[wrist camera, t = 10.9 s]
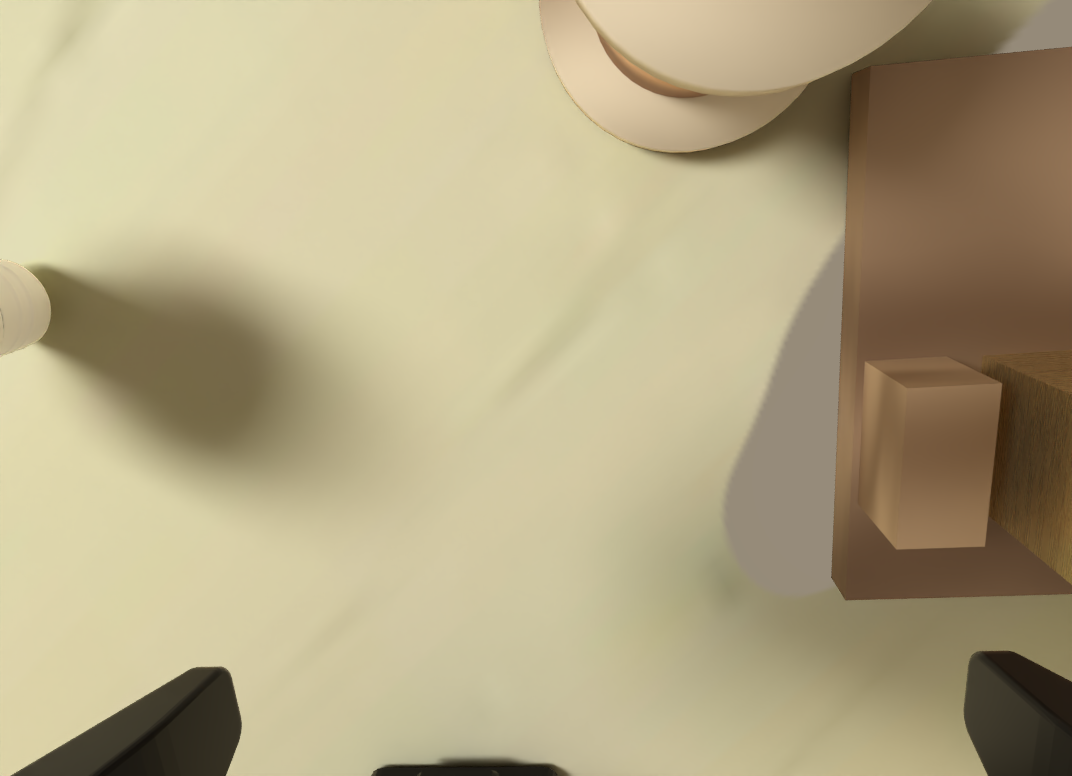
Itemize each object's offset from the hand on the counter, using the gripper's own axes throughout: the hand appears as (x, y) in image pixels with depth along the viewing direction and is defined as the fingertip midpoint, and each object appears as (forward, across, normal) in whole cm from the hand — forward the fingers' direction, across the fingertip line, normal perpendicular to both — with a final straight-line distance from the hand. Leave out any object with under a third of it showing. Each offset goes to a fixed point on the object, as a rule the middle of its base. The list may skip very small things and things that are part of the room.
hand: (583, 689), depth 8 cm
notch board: (+12, -12, -1) cm, 17 cm away
